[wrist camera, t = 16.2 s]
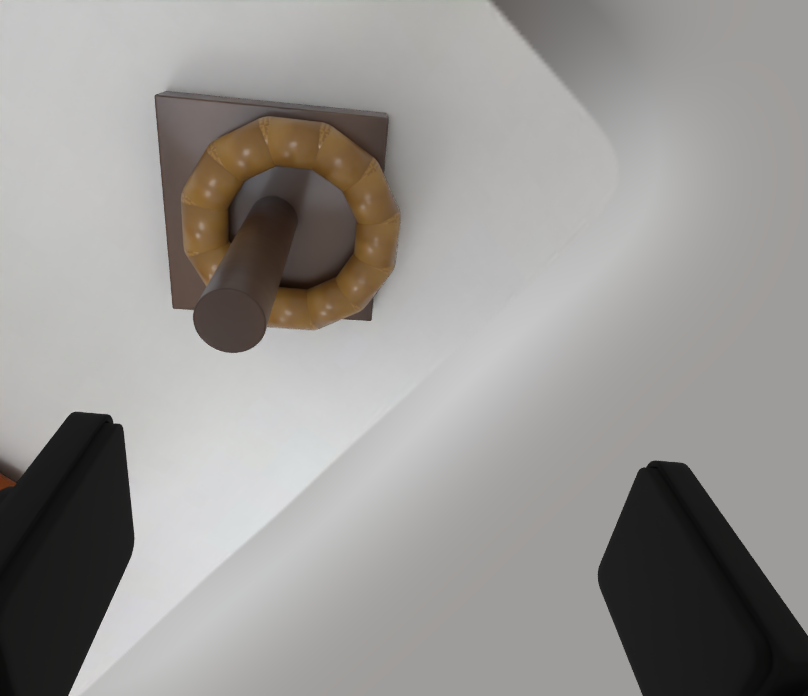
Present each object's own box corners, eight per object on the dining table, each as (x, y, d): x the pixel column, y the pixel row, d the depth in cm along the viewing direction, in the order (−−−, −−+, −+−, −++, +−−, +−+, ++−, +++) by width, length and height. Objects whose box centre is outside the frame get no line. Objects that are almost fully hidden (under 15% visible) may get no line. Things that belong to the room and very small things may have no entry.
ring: (408, 128, 24) (412, 136, 23) (386, 325, 28) (387, 343, 27) (182, 103, 23) (169, 108, 22) (192, 310, 27) (182, 328, 26)
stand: (387, 112, 25) (407, 171, 15) (370, 308, 29) (378, 456, 19) (164, 90, 24) (26, 138, 14) (180, 296, 28) (83, 445, 18)
